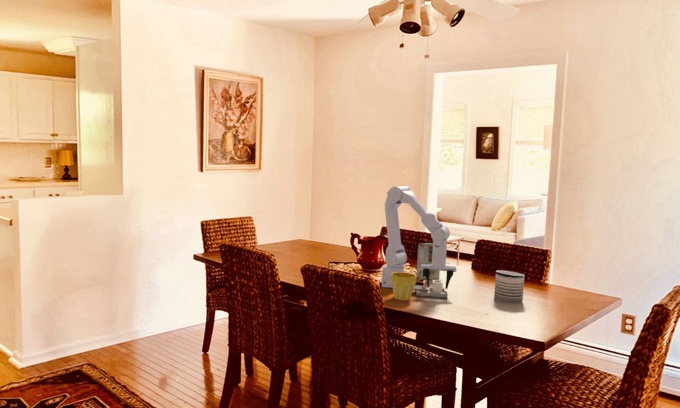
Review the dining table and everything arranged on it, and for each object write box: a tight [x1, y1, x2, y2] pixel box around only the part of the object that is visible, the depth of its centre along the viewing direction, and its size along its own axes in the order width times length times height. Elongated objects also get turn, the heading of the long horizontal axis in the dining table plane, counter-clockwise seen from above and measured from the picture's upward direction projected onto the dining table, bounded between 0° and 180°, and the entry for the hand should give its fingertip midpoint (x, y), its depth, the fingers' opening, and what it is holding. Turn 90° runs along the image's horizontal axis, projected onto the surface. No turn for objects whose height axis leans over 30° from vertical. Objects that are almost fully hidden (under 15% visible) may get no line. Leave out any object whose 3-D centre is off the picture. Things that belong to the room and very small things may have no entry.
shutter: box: [413, 279, 427, 291], centre depth 235 cm, size 6×6×3 cm
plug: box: [431, 279, 444, 292], centre depth 234 cm, size 4×4×6 cm
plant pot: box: [391, 271, 418, 301], centre depth 226 cm, size 10×10×10 cm
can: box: [493, 269, 525, 305], centre depth 230 cm, size 11×11×12 cm
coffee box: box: [416, 242, 440, 280], centre depth 264 cm, size 9×6×16 cm
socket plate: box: [415, 285, 449, 300], centre depth 235 cm, size 12×11×2 cm
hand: (437, 287), depth 234 cm, fingers open, 7 cm apart
